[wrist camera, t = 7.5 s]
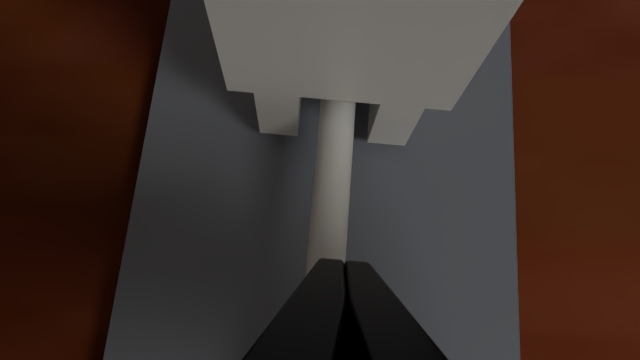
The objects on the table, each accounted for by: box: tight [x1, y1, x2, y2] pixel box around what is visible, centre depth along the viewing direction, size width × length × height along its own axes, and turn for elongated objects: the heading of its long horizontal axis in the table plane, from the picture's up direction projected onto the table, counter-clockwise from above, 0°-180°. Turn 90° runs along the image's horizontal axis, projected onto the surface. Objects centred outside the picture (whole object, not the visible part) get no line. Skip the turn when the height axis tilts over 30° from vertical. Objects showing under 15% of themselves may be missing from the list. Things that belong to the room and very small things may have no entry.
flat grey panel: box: [103, 0, 520, 360], centre depth 15 cm, size 26×12×5 cm, turn 175°
